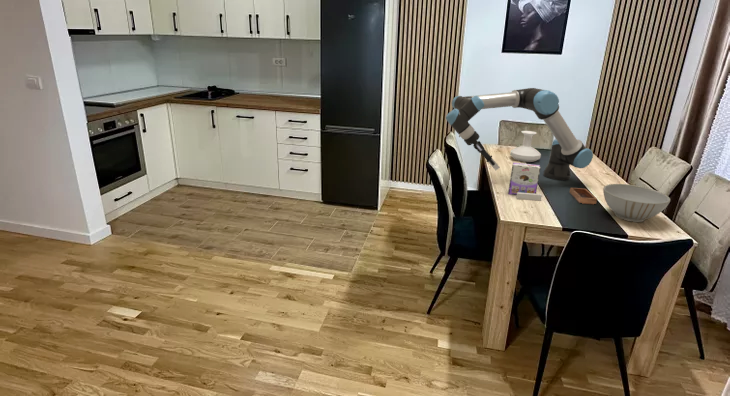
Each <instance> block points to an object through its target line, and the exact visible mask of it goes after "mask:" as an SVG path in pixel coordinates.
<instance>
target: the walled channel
mask: <svg viewBox="0 0 730 396" xmlns="http://www.w3.org/2000/svg"><path fill="white" fill-rule="evenodd" d="M515 196H516V197H515V199H516V200H525V201H542V197H543V194H541V193H536V194H535V193H520V192H517V195H515Z"/></svg>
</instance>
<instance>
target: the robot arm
mask: <svg viewBox="0 0 730 396" xmlns="http://www.w3.org/2000/svg"><path fill="white" fill-rule="evenodd" d="M559 103H560V99H559V97H558V95H557V94H556V92H553V91H551V90H547V89H543V88H542V89H541V88H536V87H528V88H522V89H521V88H520V89H514V90H511V91H509V92H501V93H500V92H499V93H489V94H480V95H469V96H468V95H467V96H462V95H457V96H455V97H454V98H453V99H452V101H451V106H452V108H453V109H452V110H451V111H449V112H448V113H447V114H446V116H445V119H446V120H445V121H447V123H448V124H449V126H451V127H452V128H453V130H454V131H455V132H456V133H457V134H458V137H459V138H461V139H462V140H463V141H464V143H465V144H466V145H467V146H473V148H474V149H475V150H476V151H477V152H478V153H480V155H481V156H482V157H483V158H484V159H485V160H486V163H489V165H490V166H491V168H493V169H494V170H495V171H497V170H499V169H500V166H499V165H498V163H497V162H496V161H495V159H493V155H490V153H488V151H487V149H485V147H484V146H483V143H482V142H481V141H480V140H479V138H480V134H479V133H478V132H477V131H476V130H475V128H474V127H473V126H472V125H471V124H470V123H469V121H470V120H471V119H472V118H474V117H475V116H476V115H477V114H478V113H480V111H481V110H486V109H497V108H498V109H499V108H507V107H510V108H511V107H512V108H513V109H517V108H518V109H519V108H520V109H526V110H528V111H533V113H534V114H535V116H536V117H537V118H538V120H540V121H541V120H543V122H544V123H545V124H546V126H547V128H548V130H550V132H551V134H552V135H553V138H555V139H553V141H552V144H551V147H550V154H549V159H548V163H547V165H546V167H545V169H544V170H543V174H542V176H544V177H546V178H548V179H551V180H555V181H568V180H570V179H571V176H572V175H571V173H572V172H571V166H573V167H574V168H577V169H585V168H586V167H588V166H589V165H590V164H591V163H592V160H593V157H594V153H593V151H592V149H590V148H587V147H586V146H585V145H584V143H583V142H582V140H581V139H577V137H576V136H575V135H574V133H573V131H572V130H571V128H570V127H569V126H568V124H567V122H566V120H565V119H564V117H563V116H562V114H561V113H560V110H559V109H560V104H559Z"/></svg>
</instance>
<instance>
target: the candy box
mask: <svg viewBox="0 0 730 396" xmlns="http://www.w3.org/2000/svg"><path fill="white" fill-rule="evenodd" d="M540 172H541V165H540V164H533V163H532V164H529V163H521V162H512V166H511V172H510V179H509V183H508V184H509V185H508V189H507V190H508V191H507V194H508V195H512V196H517V192H520V193H535V194H537V192H538V191H537V189H538V185H539V179H540V174H541V173H540Z"/></svg>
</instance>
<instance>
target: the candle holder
mask: <svg viewBox="0 0 730 396" xmlns="http://www.w3.org/2000/svg"><path fill="white" fill-rule="evenodd" d="M520 132H521V134H522V135H523V141H522V145H520V146H516V147H514V148H512V149H511V150H510V153H509V155H510V156H511V158H512V159H514V160H516V161H520V162H522V161H523V162H525V163H531V162H532V163H533V162H536V161H538V160H540V159H541V157H542V154H541V152H539V150H537V149H536V148H534V147H533V146H532V142H533V136H535V135H538V133H537V132H536V131H534V130H521V131H520Z"/></svg>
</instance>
